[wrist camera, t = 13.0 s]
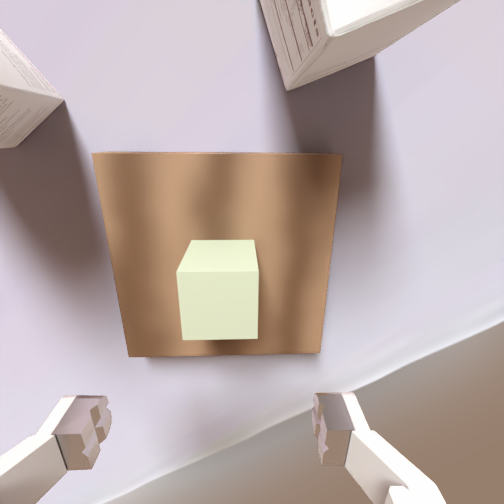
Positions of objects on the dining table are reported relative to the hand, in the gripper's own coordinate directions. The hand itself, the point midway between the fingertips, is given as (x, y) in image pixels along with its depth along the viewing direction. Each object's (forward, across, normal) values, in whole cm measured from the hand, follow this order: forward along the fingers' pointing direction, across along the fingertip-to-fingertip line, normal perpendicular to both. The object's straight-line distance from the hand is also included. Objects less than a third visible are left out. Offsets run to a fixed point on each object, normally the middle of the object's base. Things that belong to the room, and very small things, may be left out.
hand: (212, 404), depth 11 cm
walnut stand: (+16, +1, 0) cm, 17 cm away
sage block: (+14, 0, 0) cm, 14 cm away
